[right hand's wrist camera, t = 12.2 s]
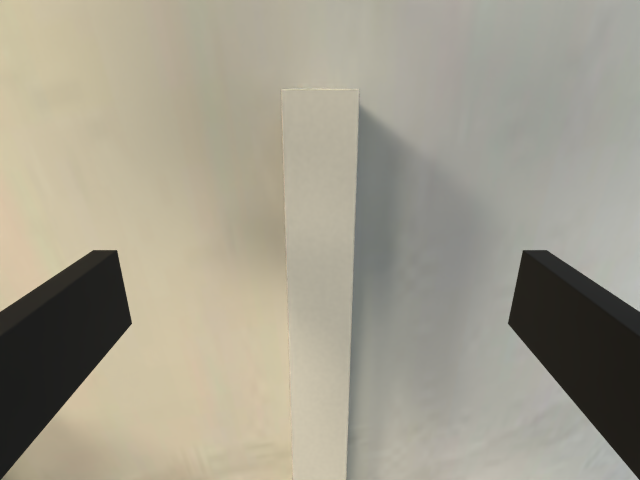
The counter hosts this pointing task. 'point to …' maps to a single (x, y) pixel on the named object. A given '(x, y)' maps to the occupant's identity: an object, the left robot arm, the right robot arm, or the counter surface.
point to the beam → (319, 272)
